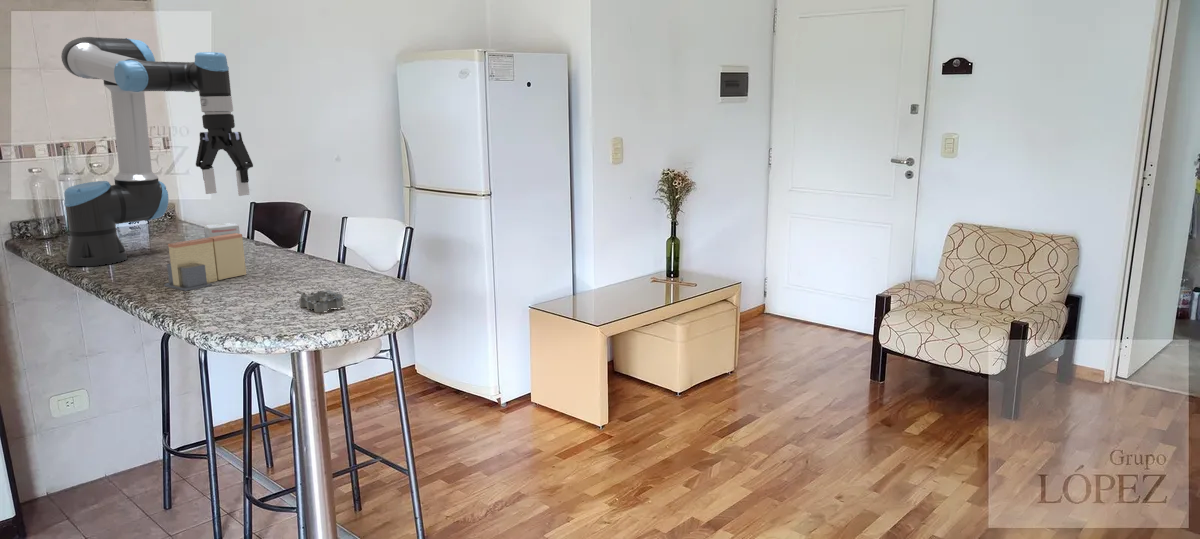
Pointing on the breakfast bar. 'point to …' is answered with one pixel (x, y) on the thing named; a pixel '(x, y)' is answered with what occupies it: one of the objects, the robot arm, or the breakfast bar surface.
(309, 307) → the grey flat lobed block
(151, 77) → the robot arm
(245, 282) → the breakfast bar surface
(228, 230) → the ink box
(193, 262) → the ticket holder
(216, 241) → the stub
